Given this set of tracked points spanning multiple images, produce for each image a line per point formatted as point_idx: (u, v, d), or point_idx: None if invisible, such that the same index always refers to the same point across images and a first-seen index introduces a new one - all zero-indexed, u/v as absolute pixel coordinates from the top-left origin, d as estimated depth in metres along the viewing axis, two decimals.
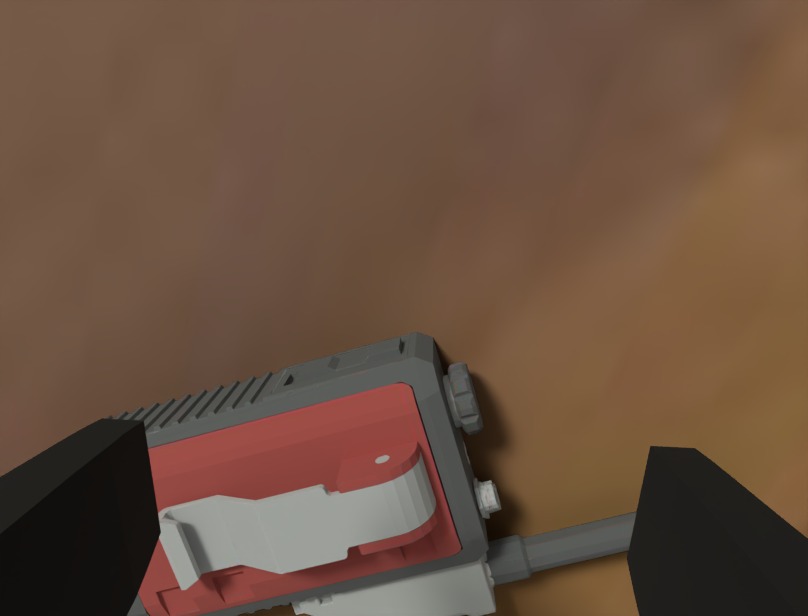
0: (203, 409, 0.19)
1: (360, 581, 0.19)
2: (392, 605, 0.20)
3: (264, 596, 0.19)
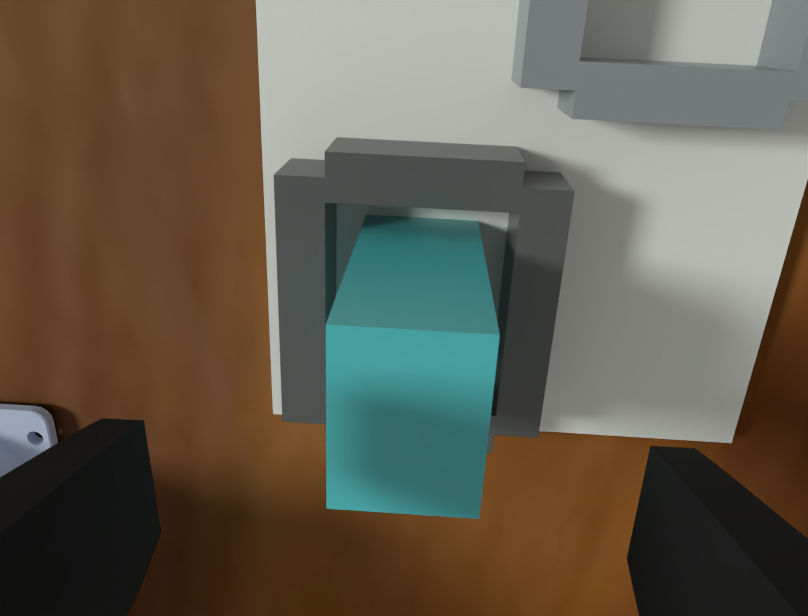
0: None
1: None
2: None
3: None
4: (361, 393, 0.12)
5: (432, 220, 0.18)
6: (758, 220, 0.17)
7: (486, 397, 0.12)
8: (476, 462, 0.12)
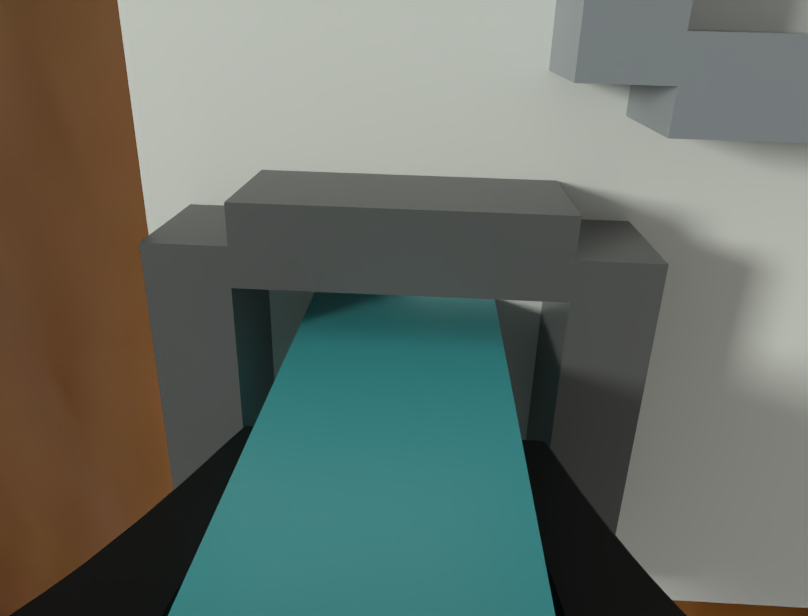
0: None
1: None
2: None
3: None
4: None
5: (421, 299, 0.11)
6: None
7: None
8: None
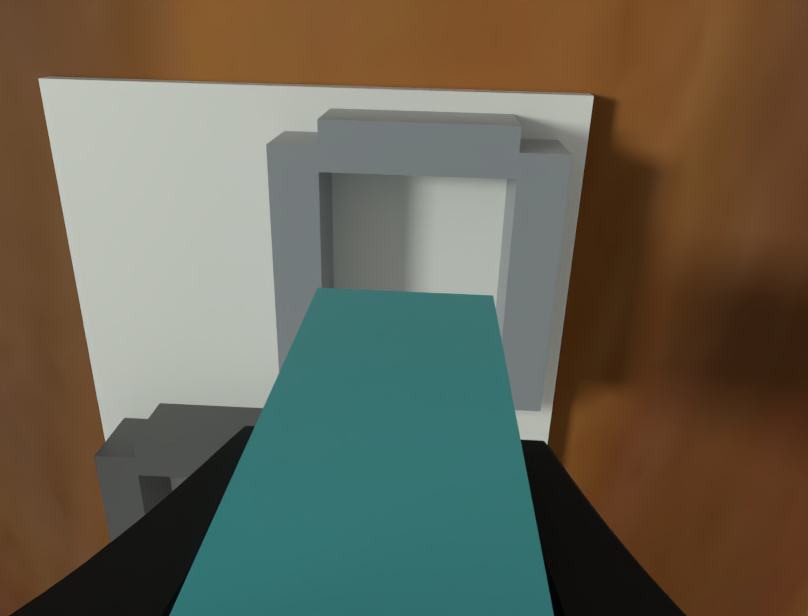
0: None
1: None
2: None
3: None
4: None
5: (421, 297, 0.11)
6: None
7: None
8: None
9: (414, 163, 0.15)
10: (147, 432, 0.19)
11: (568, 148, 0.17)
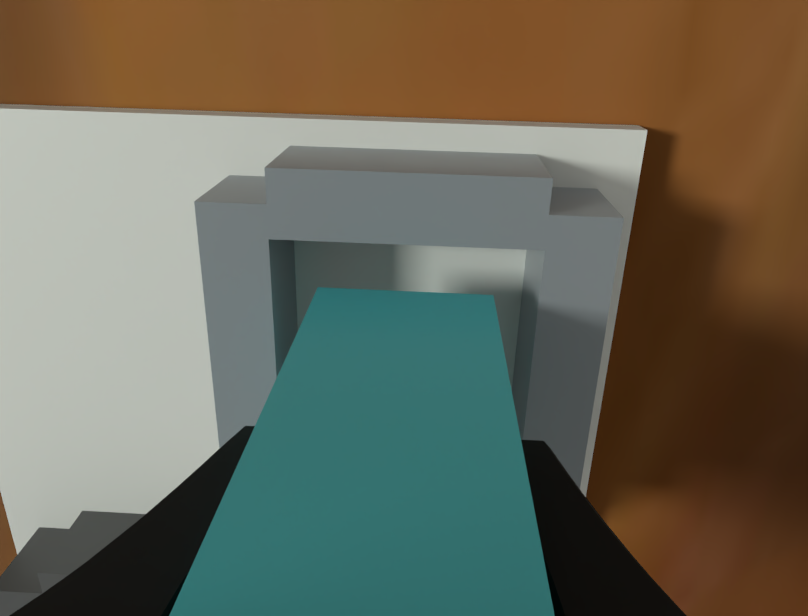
0: None
1: None
2: None
3: None
4: None
5: (421, 296, 0.11)
6: None
7: None
8: None
9: (401, 228, 0.11)
10: (59, 559, 0.15)
11: (610, 199, 0.13)
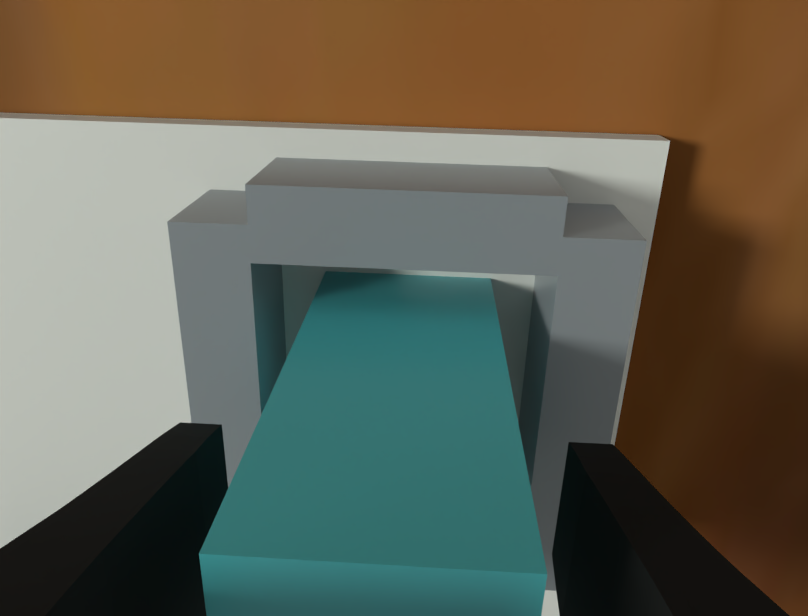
0: None
1: None
2: None
3: None
4: None
5: (423, 279, 0.12)
6: None
7: None
8: None
9: (398, 251, 0.10)
10: None
11: (628, 216, 0.11)
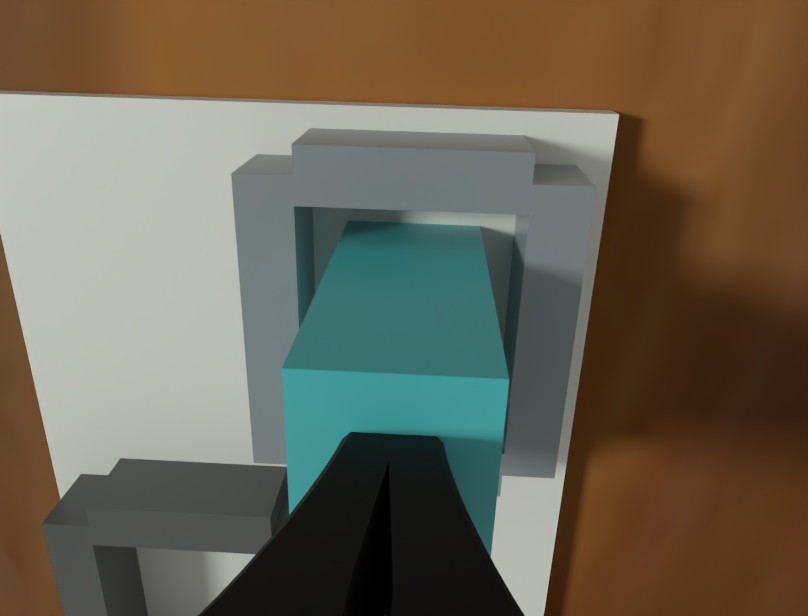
0: None
1: None
2: None
3: None
4: (331, 453, 0.09)
5: (425, 226, 0.15)
6: (522, 525, 0.18)
7: (492, 457, 0.09)
8: (481, 537, 0.10)
9: (407, 196, 0.13)
10: (103, 496, 0.17)
11: (588, 175, 0.15)
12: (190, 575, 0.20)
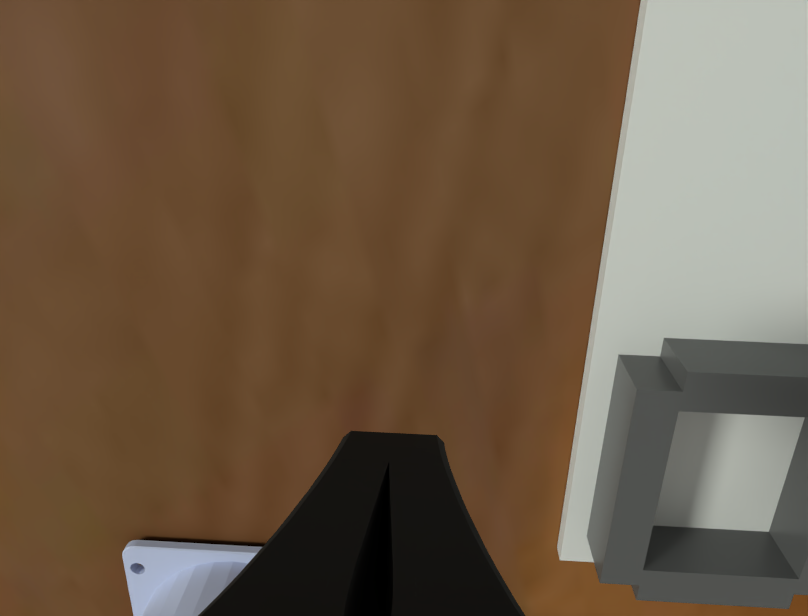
0: None
1: None
2: None
3: None
4: None
5: None
6: None
7: None
8: None
9: None
10: (692, 364, 0.18)
11: None
12: (688, 459, 0.21)
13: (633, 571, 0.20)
